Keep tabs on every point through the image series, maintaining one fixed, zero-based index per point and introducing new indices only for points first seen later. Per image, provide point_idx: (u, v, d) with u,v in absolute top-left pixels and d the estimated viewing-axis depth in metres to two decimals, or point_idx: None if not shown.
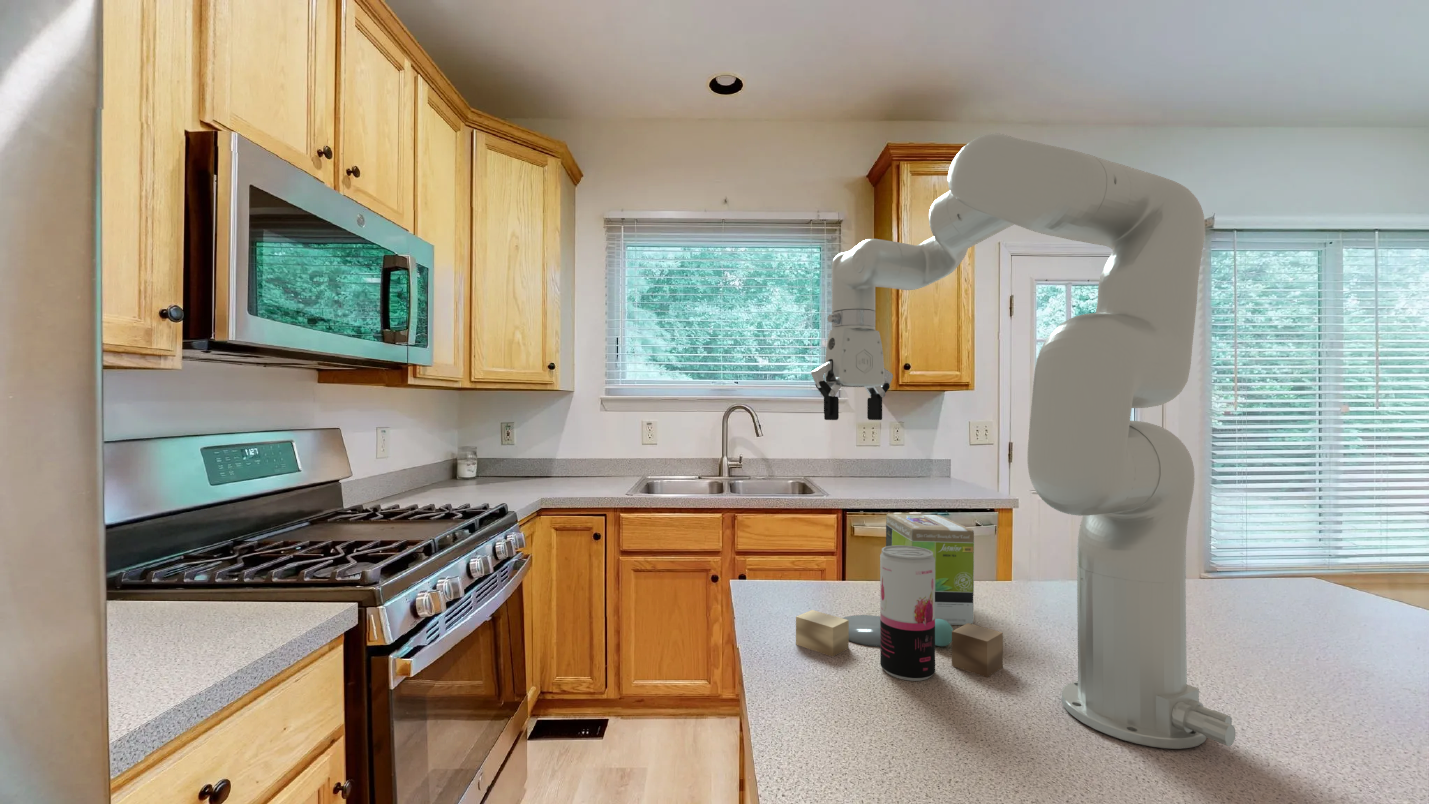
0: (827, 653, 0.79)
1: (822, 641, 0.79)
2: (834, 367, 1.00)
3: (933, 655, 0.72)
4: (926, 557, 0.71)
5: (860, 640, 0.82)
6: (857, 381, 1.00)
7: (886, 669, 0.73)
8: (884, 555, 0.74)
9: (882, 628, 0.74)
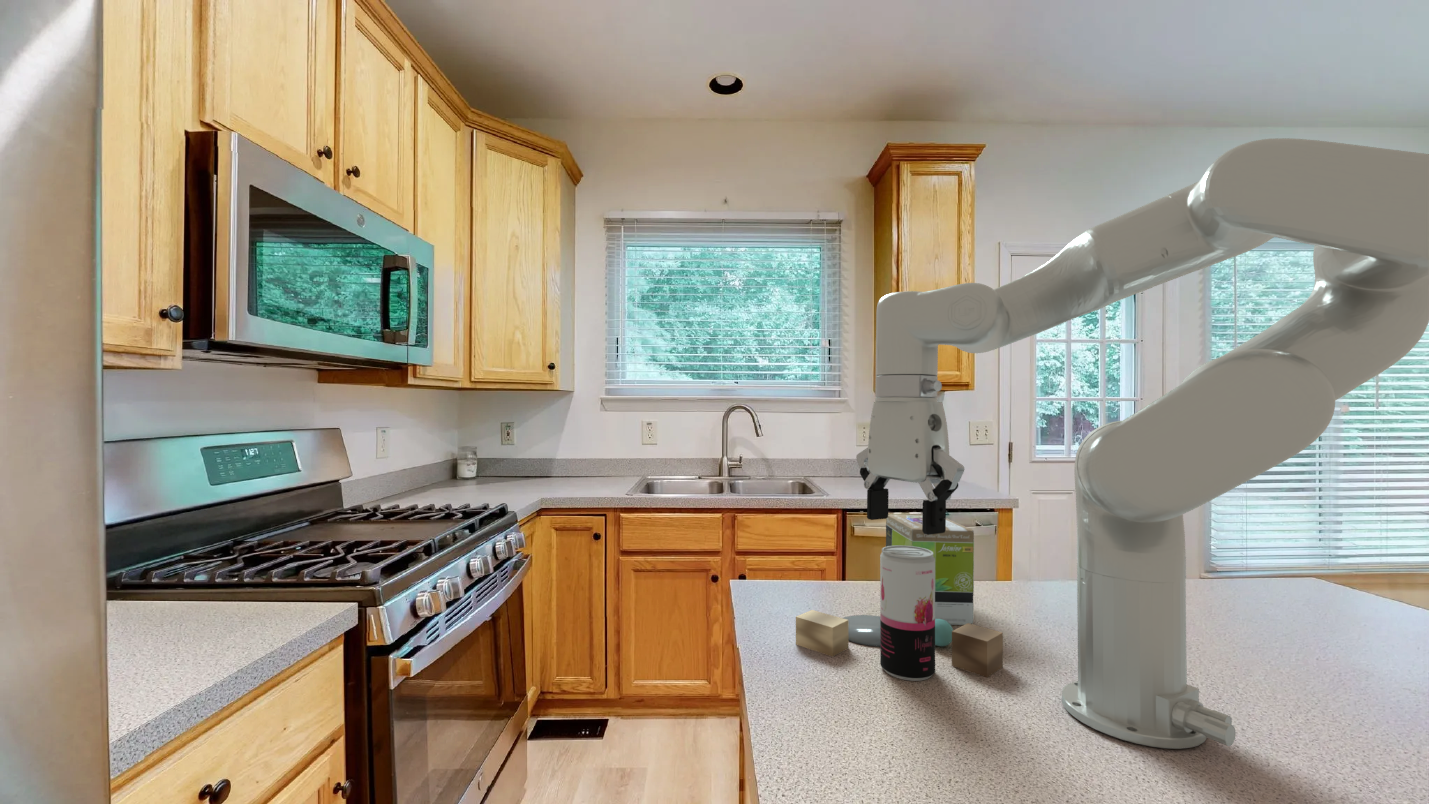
0: (827, 653, 0.79)
1: (822, 641, 0.79)
2: None
3: (933, 655, 0.72)
4: (926, 557, 0.71)
5: (860, 640, 0.82)
6: None
7: (886, 669, 0.73)
8: (884, 555, 0.74)
9: (882, 628, 0.74)
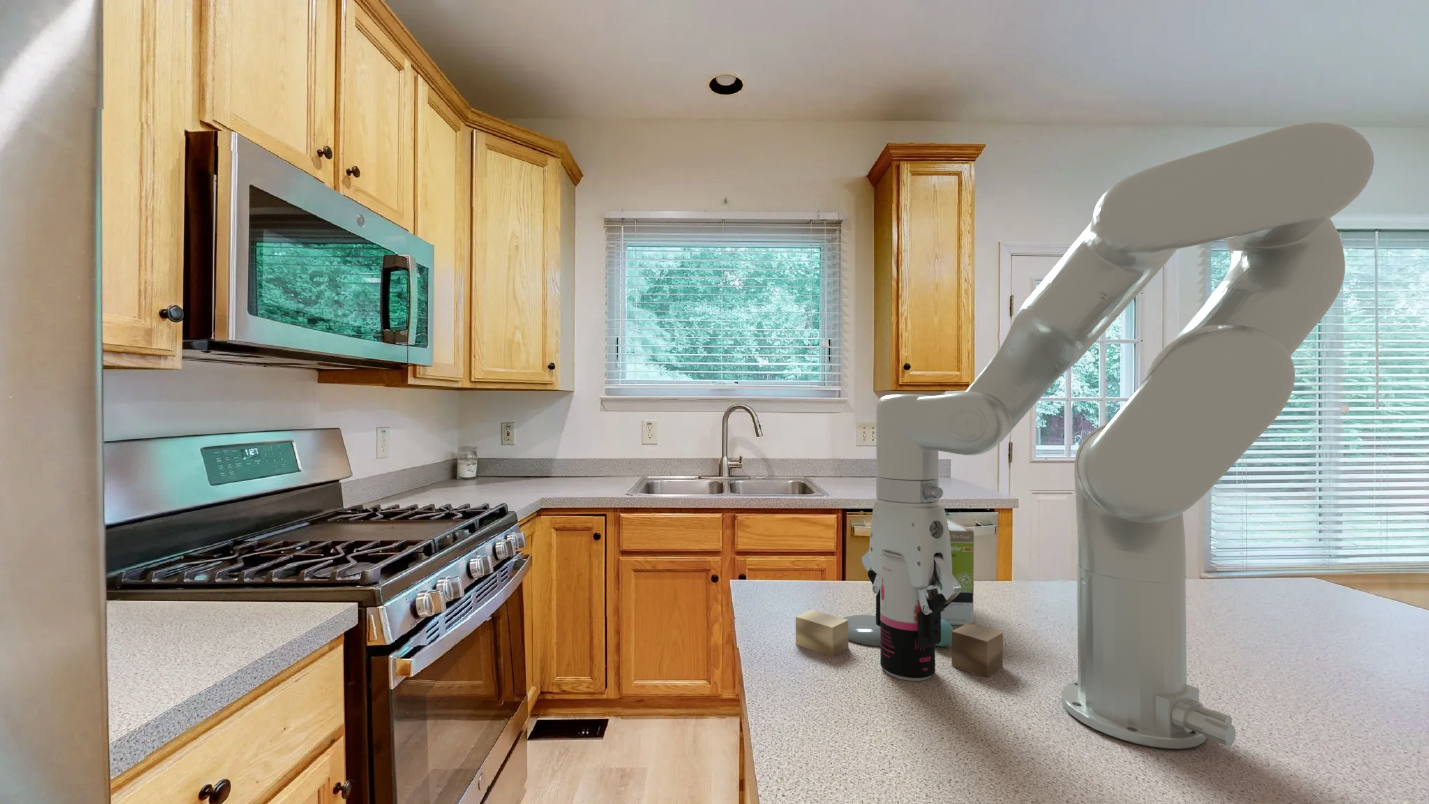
0: (827, 653, 0.79)
1: (822, 641, 0.79)
2: (946, 565, 0.70)
3: (933, 655, 0.72)
4: None
5: (860, 640, 0.82)
6: None
7: (886, 669, 0.73)
8: (884, 555, 0.74)
9: (882, 628, 0.74)
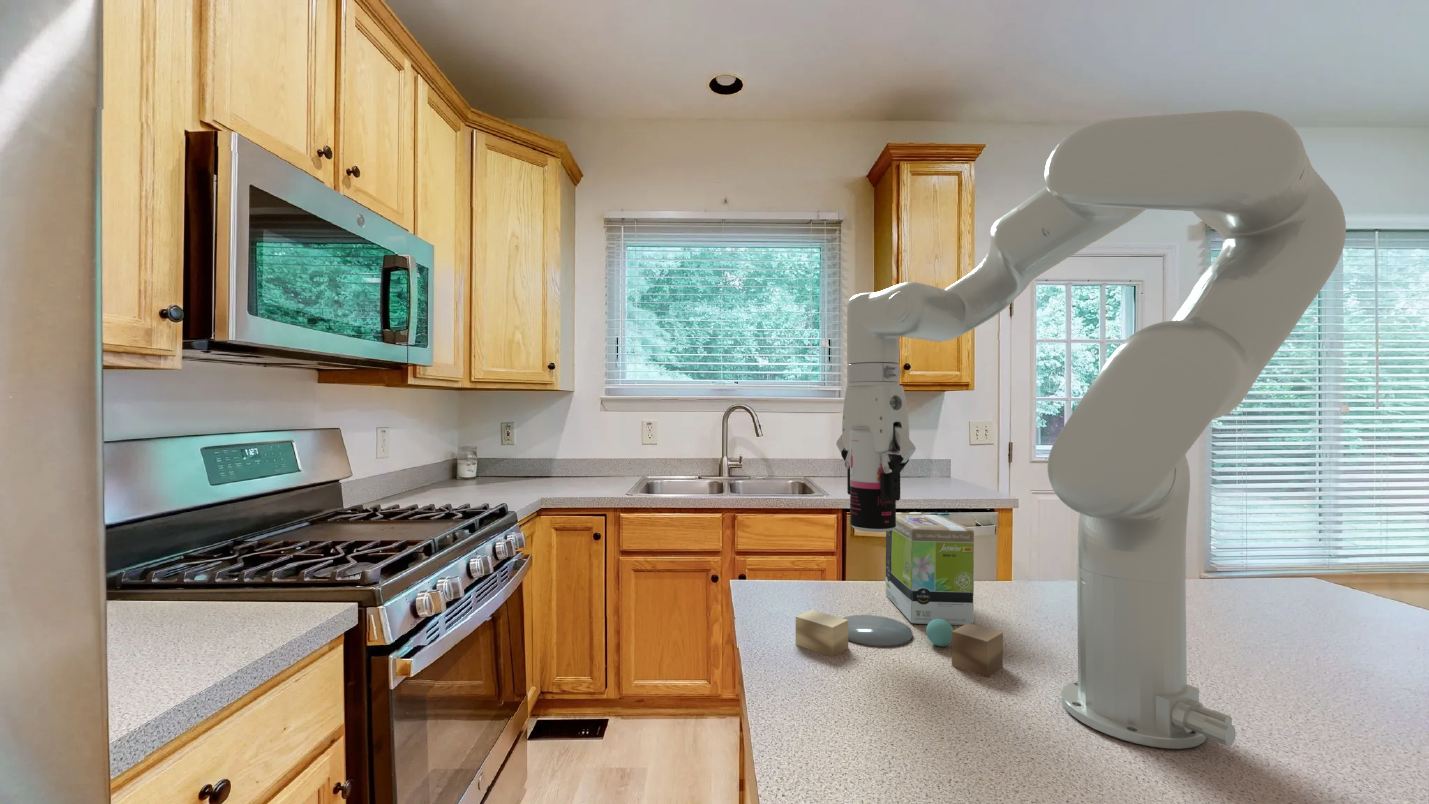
0: (827, 653, 0.79)
1: (822, 641, 0.79)
2: (904, 433, 0.83)
3: (894, 511, 0.85)
4: None
5: (860, 640, 0.82)
6: None
7: (854, 525, 0.86)
8: (853, 429, 0.87)
9: (851, 492, 0.87)
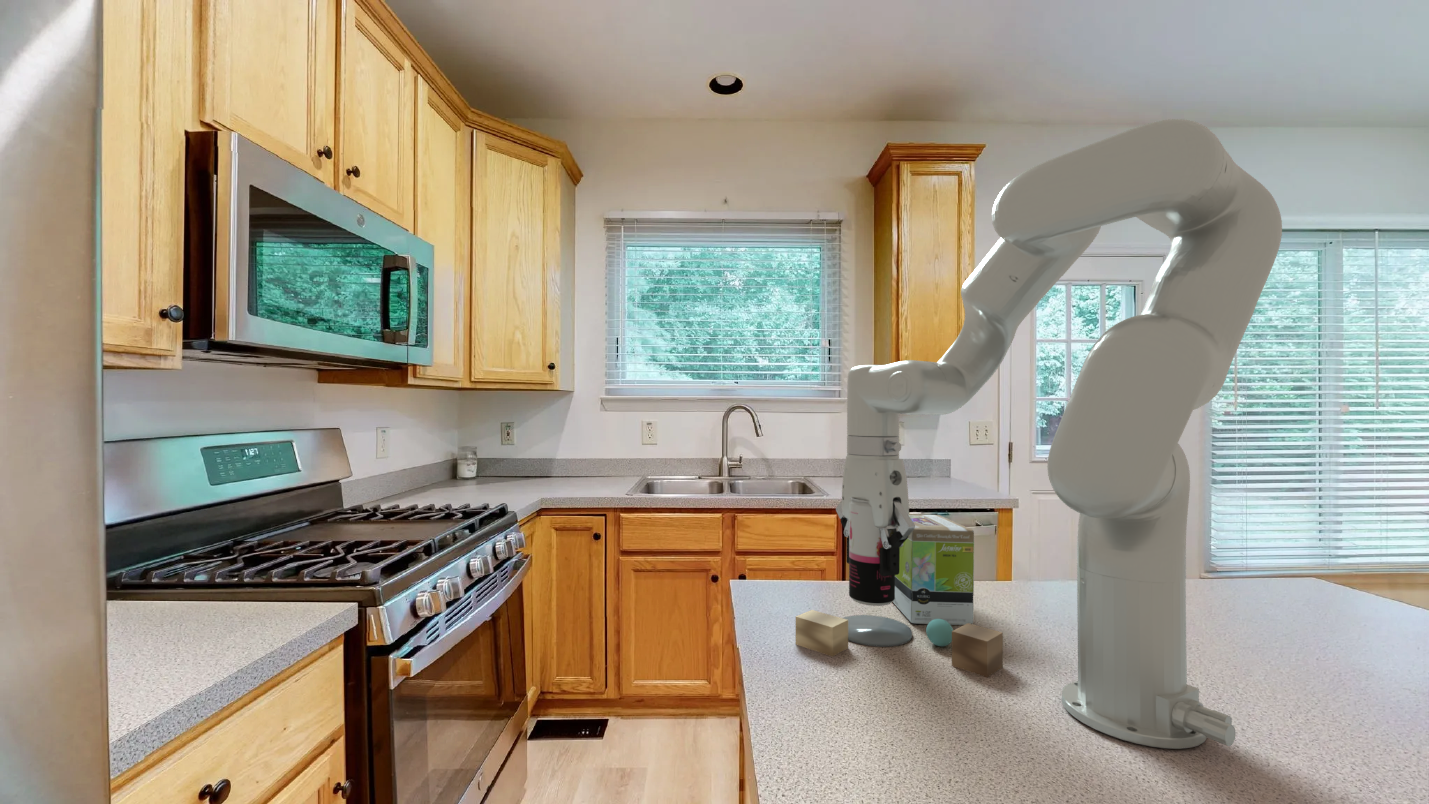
0: (827, 653, 0.79)
1: (822, 641, 0.79)
2: (903, 508, 0.83)
3: (892, 585, 0.85)
4: None
5: (860, 640, 0.82)
6: None
7: (853, 597, 0.86)
8: (852, 501, 0.87)
9: (850, 563, 0.87)
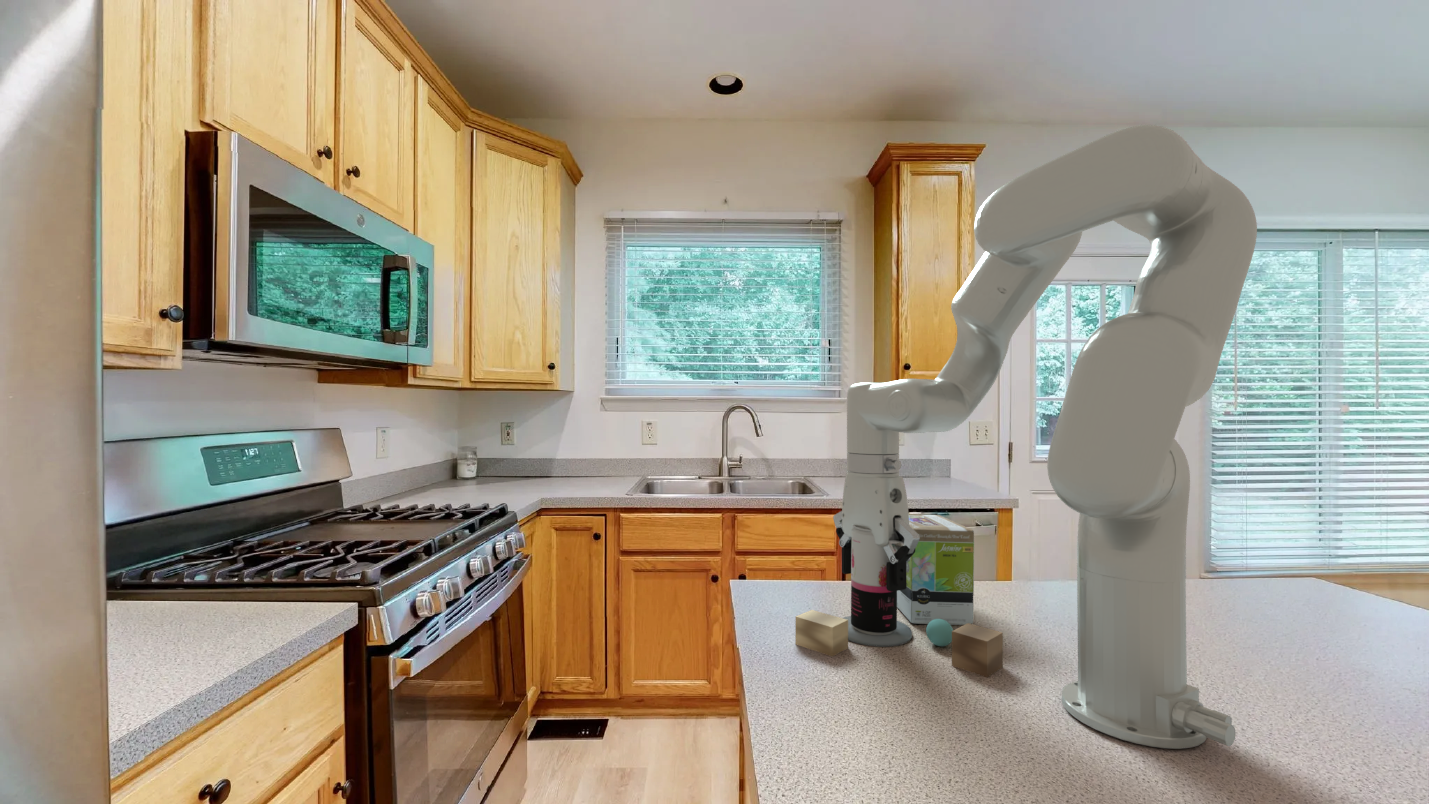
0: (827, 653, 0.79)
1: (822, 641, 0.79)
2: None
3: (895, 614, 0.85)
4: None
5: (860, 640, 0.82)
6: None
7: (855, 626, 0.85)
8: (855, 529, 0.86)
9: (852, 591, 0.86)
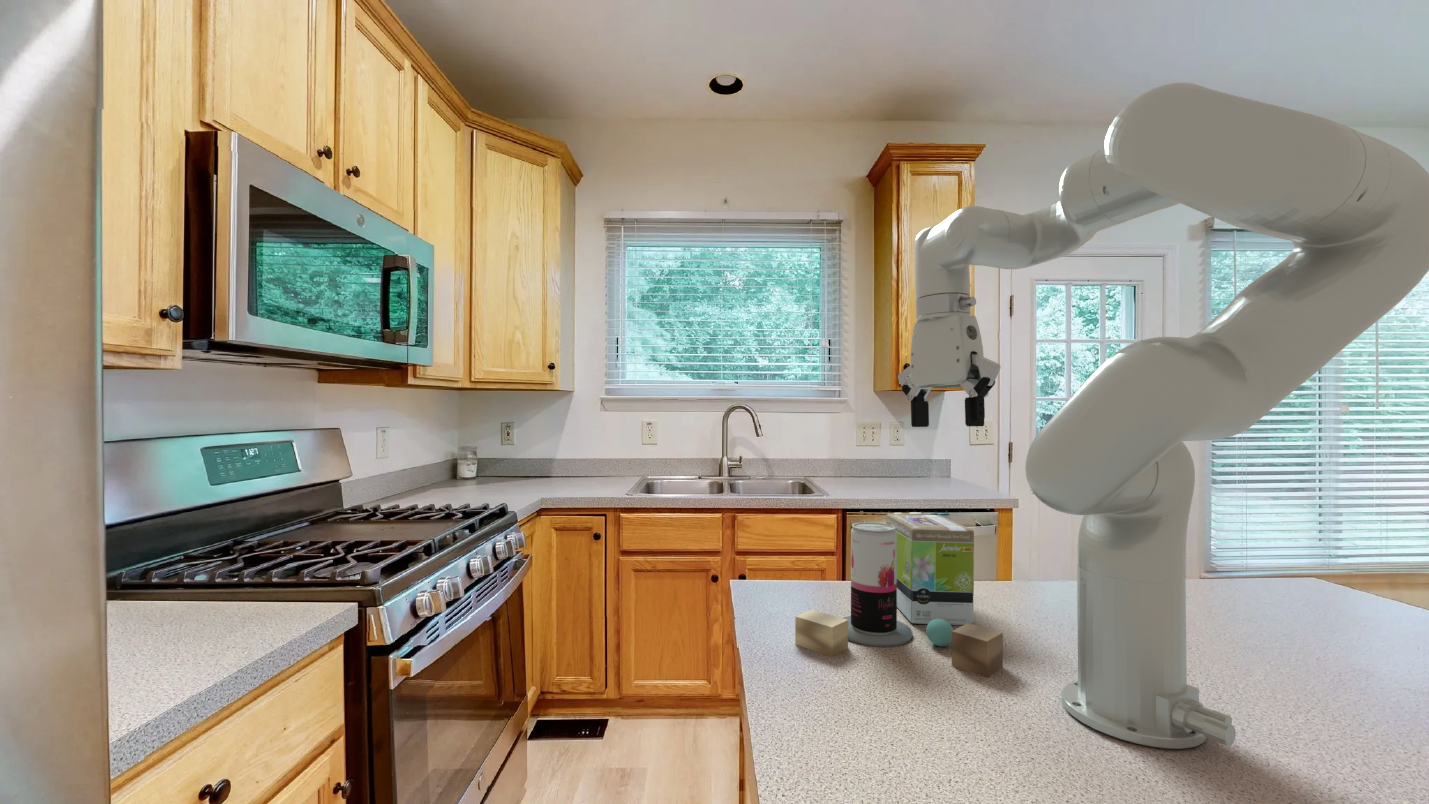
0: (826, 653, 0.79)
1: (822, 641, 0.79)
2: None
3: (894, 614, 0.85)
4: (888, 531, 0.84)
5: (860, 640, 0.82)
6: None
7: (855, 626, 0.85)
8: (854, 529, 0.86)
9: (852, 592, 0.86)
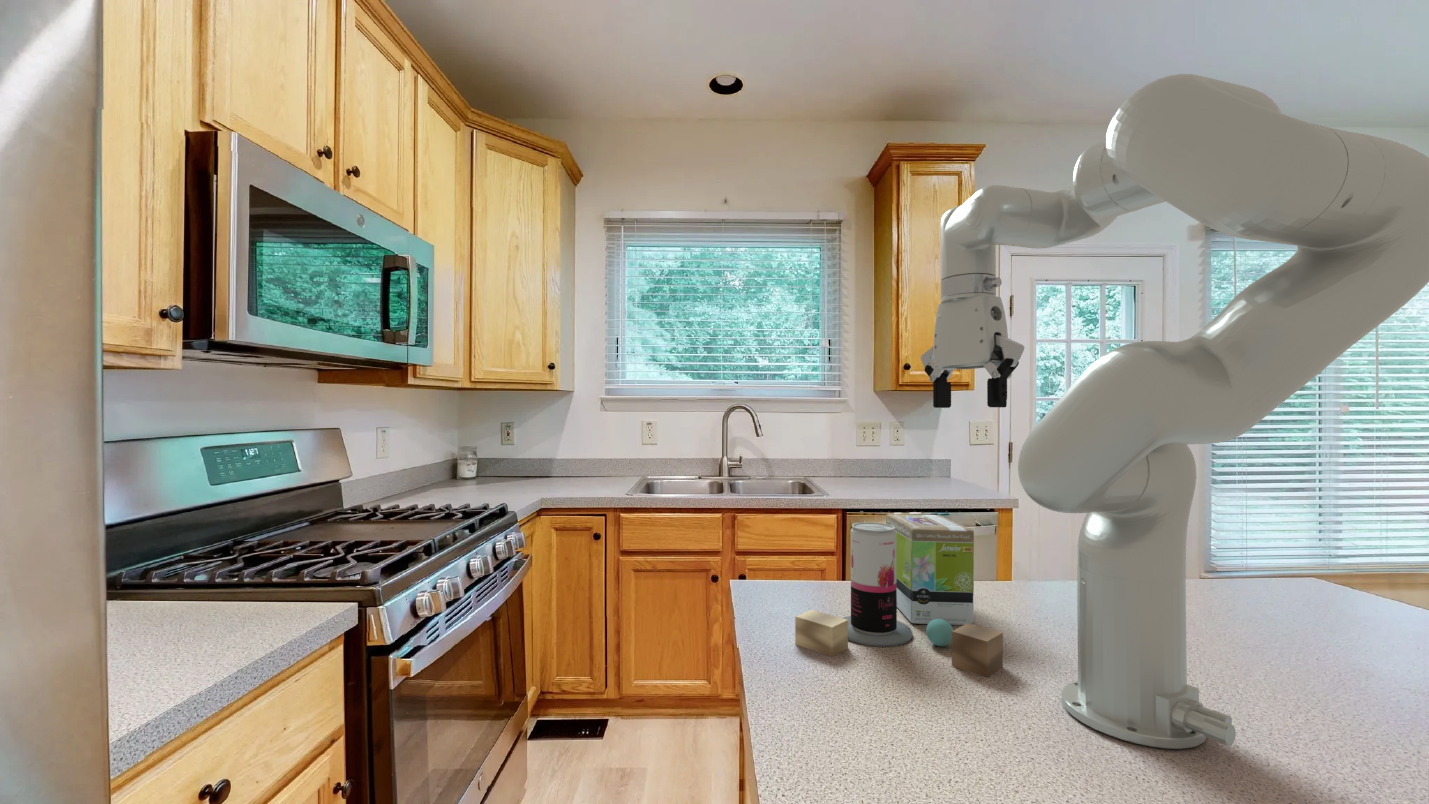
0: (826, 653, 0.79)
1: (822, 641, 0.79)
2: None
3: (894, 614, 0.85)
4: (888, 531, 0.84)
5: (860, 640, 0.82)
6: None
7: (855, 626, 0.85)
8: (854, 529, 0.86)
9: (852, 592, 0.86)
